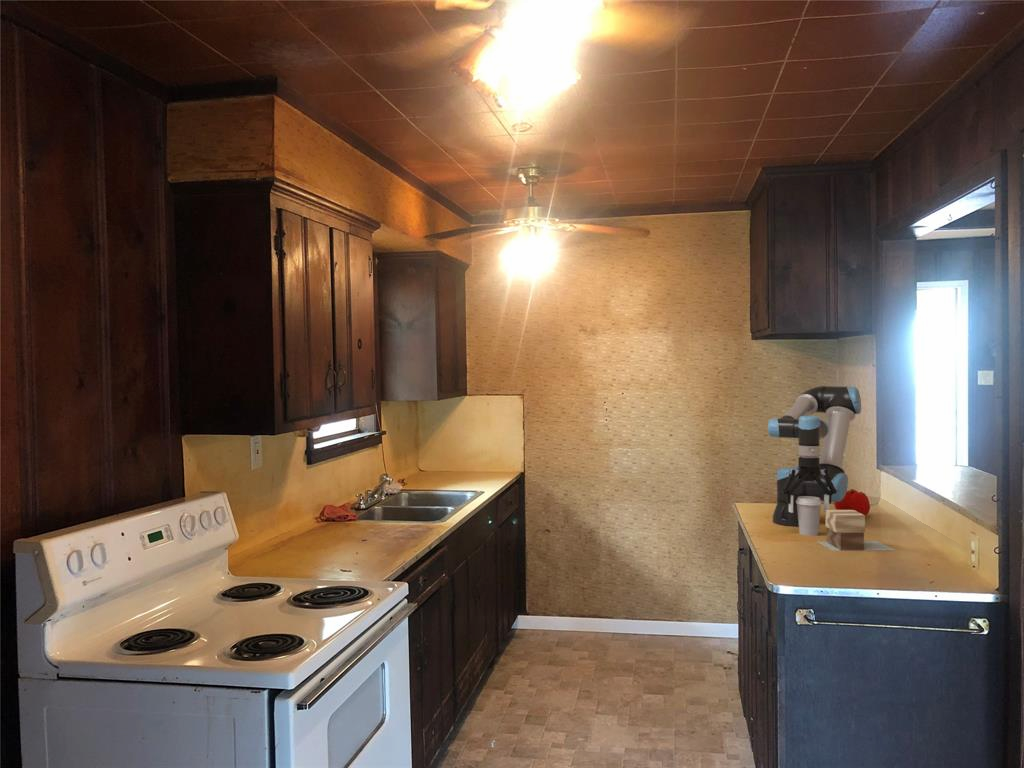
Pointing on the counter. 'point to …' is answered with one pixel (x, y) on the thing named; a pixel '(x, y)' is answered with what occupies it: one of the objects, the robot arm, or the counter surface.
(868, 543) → the board
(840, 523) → the oak brick
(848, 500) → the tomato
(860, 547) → the walnut base brick
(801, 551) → the counter surface
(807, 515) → the coffee cup
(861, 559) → the counter surface
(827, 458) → the robot arm
